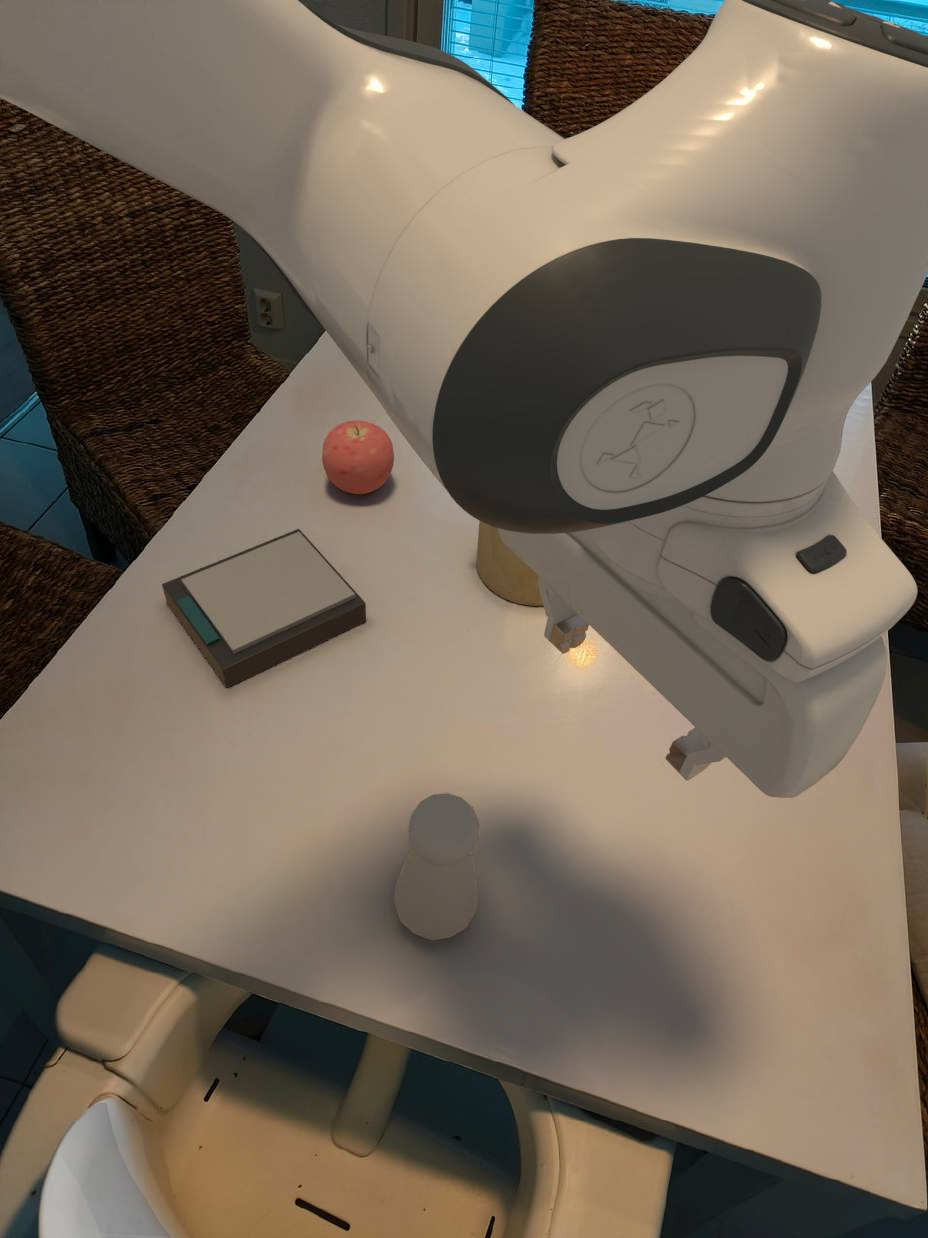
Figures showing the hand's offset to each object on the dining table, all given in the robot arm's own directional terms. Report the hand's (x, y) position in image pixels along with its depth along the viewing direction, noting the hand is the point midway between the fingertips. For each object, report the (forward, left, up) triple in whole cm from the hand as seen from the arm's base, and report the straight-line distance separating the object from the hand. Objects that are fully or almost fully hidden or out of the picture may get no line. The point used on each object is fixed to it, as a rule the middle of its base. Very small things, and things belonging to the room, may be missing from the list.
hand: (621, 699), depth 44 cm
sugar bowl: (+22, +26, -24) cm, 42 cm away
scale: (-4, +36, -24) cm, 43 cm away
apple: (+13, +47, -24) cm, 55 cm away
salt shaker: (-8, +4, -24) cm, 25 cm away
